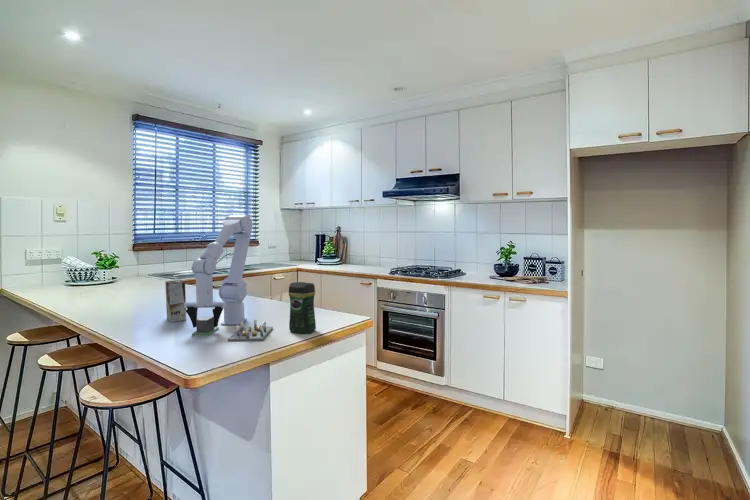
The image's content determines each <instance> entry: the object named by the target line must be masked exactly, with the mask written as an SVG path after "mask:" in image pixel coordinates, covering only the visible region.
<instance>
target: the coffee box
mask: <svg viewBox="0 0 750 500" xmlns="http://www.w3.org/2000/svg"><path fill="white" fill-rule="evenodd" d="M165 300H166V301H165V303H166V304H165V305H166V319H167V320H168V321H169V322H170V323H173V322H175V323H176V322H181V321H186V320H187V312H186V310H187V308H184V303H185V302H187V301H186V282H185V281H183V280H181V279H180V280H179V279H176V280H166V281H165Z"/></svg>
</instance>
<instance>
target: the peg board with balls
mask: <svg viewBox="0 0 750 500" xmlns="http://www.w3.org/2000/svg"><path fill="white" fill-rule="evenodd" d="M257 325H258V324H257V319H253V326H244V322H240V324H237V325H236V327H235V329H236V330H235V332H234V333H233V334H231V336H229V337H228V338H227V341H228V342H261V341H262V342H263V341H265V339H266V338H267V337H268V336H269V334H270V333H271V331H272V330H273V328H274V326H267V321H263V322H262V324H259V325H258V326H257Z"/></svg>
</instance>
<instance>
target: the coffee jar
mask: <svg viewBox="0 0 750 500" xmlns="http://www.w3.org/2000/svg"><path fill="white" fill-rule="evenodd" d="M315 295H316V288H315V284H314V283H312V282H303V281H297V282H291V283H289V287H288V296H289V303H290V304H289V305H290V306H289V307H290V308H289V322H288V323H289V324H288V325H289V328H288V330H289V331H290V332H292V333H295V334H296V333H297V334H307V333H309V334H311V333H313V332H315V331H316V328H317V325H316V317H315V316H316V315H315V305H314V303H315V301H314V300H315Z"/></svg>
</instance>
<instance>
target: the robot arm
mask: <svg viewBox="0 0 750 500" xmlns="http://www.w3.org/2000/svg"><path fill="white" fill-rule="evenodd" d="M253 225H254V223H253V221H252V218H251V217H250V216H249V215H226V217H225V218H224V220H223V221H222V228H221V229H220V232H219V233H218V235H217V237H216V238H215V240H214V242H210V243H209V244H207V245H206V248H205V250H204V251H203V253H201V255H200V256H199V258H197V259H195V260H194V261H193V263H192V266H191V271H192V273H193V276H194V278H195V294H196V295H195V296H196V298H195V299H196V301H186V302H185V303H184V308H186V315H188V317H189V319H190V321H191V324H192V328H197V326H196V320H198V309H199V308H201V309H202V308H203V309H204V308H205V309H207V308H212V316H214V327H219V321H220V318H221V315H222V312H223V321H222V322H221V323H220V325H221V326H222V325H231V326H234V325H236V326H237V325H240V322H243V323H244V322H245V321H246V320H247V319H248V317H245V303H244V302H243V301H245V299H246V296H247V282H246V281H245V280H244V279H243V277H244V271H245V266H246V260H247V255H248V251H249V246H250V241H251V236H252V232H253V231H252V230H253ZM231 237H234V239H235V244H234V248H233V251H232V258H231V261H230V268H229V272H228V276H227V277H225V278H224V279H223V280H222V283H221V286H220V287H219V289H218V296H219V298H220V299H221V301H216V300H215V301H214V293H213V292H214V291H213V290H214V287H213V281H214V280H213V273H215V272H216V269H217V264H218V260H219V259H220V257H221V256H222V254H223V252H224V248H223V247H224V246H225V245H226V243H227V242H228V241H229V239H230V238H231Z"/></svg>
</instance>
